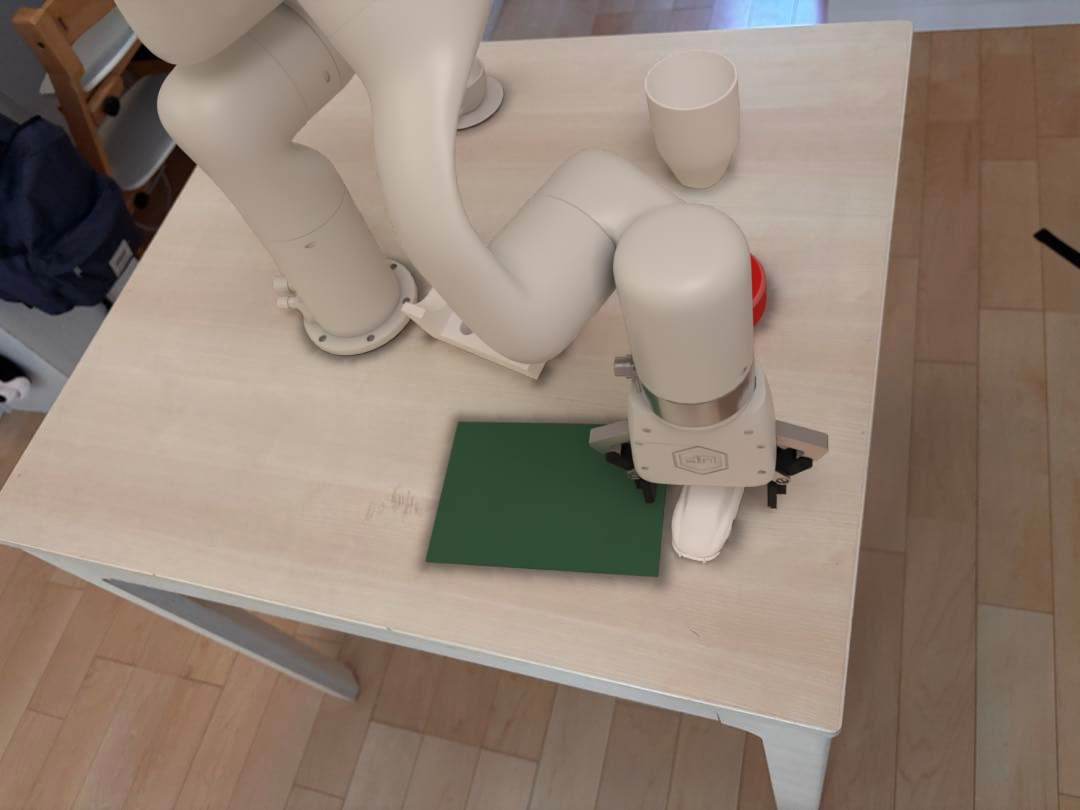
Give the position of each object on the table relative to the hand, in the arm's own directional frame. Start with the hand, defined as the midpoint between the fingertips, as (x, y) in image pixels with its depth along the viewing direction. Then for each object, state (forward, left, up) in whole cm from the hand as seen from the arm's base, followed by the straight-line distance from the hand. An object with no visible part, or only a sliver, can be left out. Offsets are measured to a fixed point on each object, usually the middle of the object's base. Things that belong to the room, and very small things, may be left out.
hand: (711, 489), depth 70 cm
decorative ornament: (-1, +21, -2) cm, 21 cm away
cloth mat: (-14, 0, -2) cm, 14 cm away
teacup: (-33, +53, -2) cm, 62 cm away
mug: (-3, +40, -2) cm, 40 cm away
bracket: (-22, +17, -2) cm, 28 cm away
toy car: (0, 0, -2) cm, 2 cm away
